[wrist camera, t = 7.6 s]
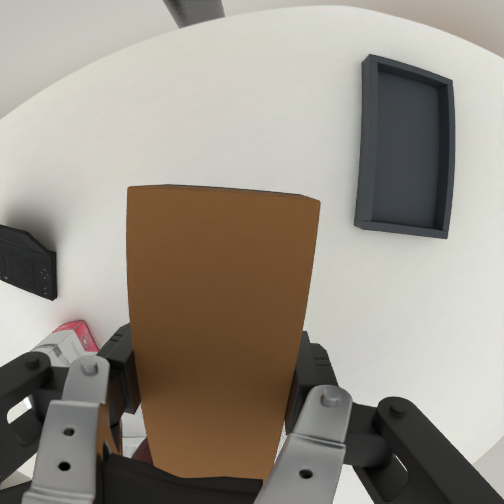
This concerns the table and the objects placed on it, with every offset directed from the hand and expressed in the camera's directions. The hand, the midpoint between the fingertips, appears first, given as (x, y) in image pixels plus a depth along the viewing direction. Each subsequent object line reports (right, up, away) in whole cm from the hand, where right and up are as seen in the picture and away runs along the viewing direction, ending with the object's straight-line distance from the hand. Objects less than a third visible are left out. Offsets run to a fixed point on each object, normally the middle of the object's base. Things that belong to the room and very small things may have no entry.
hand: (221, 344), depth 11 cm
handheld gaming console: (-27, +4, +18) cm, 32 cm away
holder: (+16, +14, +14) cm, 25 cm away
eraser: (0, 0, +1) cm, 1 cm away
